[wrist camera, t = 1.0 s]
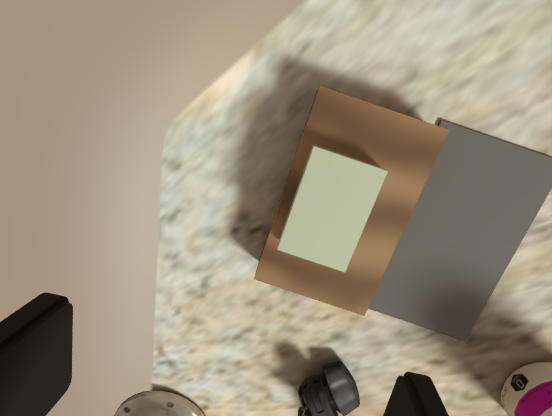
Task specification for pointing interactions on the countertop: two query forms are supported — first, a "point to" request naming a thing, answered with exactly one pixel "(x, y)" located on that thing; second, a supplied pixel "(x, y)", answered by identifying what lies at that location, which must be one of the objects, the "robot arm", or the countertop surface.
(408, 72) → the countertop surface
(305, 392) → the can opener
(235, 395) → the countertop surface
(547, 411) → the supplement can
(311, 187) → the pale green flat block
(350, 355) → the countertop surface
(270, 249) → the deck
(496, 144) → the mat
